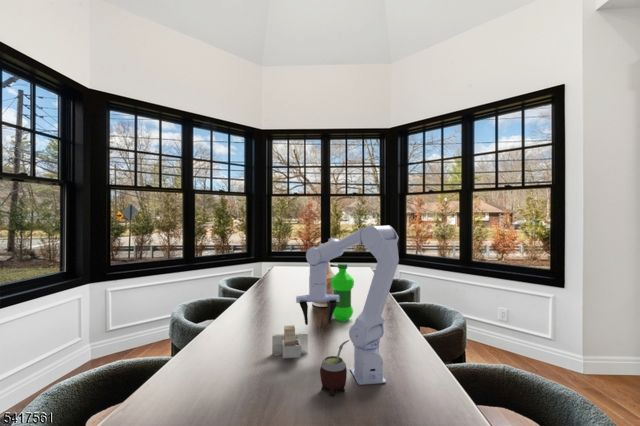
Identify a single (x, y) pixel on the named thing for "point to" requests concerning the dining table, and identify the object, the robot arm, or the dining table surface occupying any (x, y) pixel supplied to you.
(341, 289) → the plastic bottle
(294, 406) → the dining table surface
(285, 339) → the rail end
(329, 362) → the mate gourd
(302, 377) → the dining table surface
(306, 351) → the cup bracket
